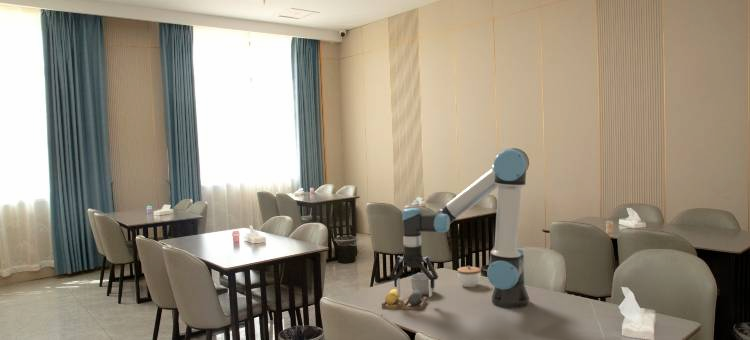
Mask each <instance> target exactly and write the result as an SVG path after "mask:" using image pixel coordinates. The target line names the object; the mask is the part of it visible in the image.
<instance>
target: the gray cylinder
mask: <svg viewBox="0 0 750 340" xmlns="http://www.w3.org/2000/svg"><path fill="white" fill-rule="evenodd" d="M412 291H413V290H412ZM409 296H410V297H409V298H408V302H409V303H410V304H411V305H413V306H415V305H417V304H418V302H419V301H420V299H423V295H422V292H421V291H420V290H414V291H413V292H412V293H411V294H410V295H409Z"/></svg>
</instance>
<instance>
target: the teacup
mask: <svg viewBox="0 0 750 340" xmlns="http://www.w3.org/2000/svg"><path fill="white" fill-rule="evenodd" d="M430 274H431V275H432V273H431V272H430ZM432 276H433V275H432ZM429 280H430V279H429V278H428V277H427V276H426V275H425V273H424V272H417V273H414V274H412V275H411V276H410V282H411V289H412V291H414V290H420V291H421V292H422V296H424V295H429ZM435 281H436V279H435V280H434V288H432V292H433V291H434V290H435V287H436V285H435V284H436V283H435Z"/></svg>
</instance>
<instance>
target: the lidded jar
mask: <svg viewBox="0 0 750 340" xmlns="http://www.w3.org/2000/svg"><path fill="white" fill-rule="evenodd" d="M457 278H458V280H459V282H460V284H462V286H463V287H464V288H465V287H466V288H475V287H476V286H477V285H478V284H479V282H480V280H481V268H480V267H477V266H471V265H467V266H461V267H459V268H457Z"/></svg>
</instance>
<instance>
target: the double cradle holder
mask: <svg viewBox="0 0 750 340" xmlns="http://www.w3.org/2000/svg"><path fill="white" fill-rule="evenodd" d="M409 297H410V295H409V296H408V295H407V296H406V295H404V296H402V298H401V297H399V298H398V299H397V300H396V302H395V303H394V304H392V305H390V304H387V303H386V301H385V299H384V300H383V301H382V302H381V309H394V310H395V309H396V310H414V311H415V310H417V311H418V310H419V311H421V310H423V309H424V307H425V305H426V303H427V296H423V297H422V298H421V299H420V301H419V302H418V304H417V305H415V306H413V305H411V304H410V303H409V302H408V298H409Z"/></svg>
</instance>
